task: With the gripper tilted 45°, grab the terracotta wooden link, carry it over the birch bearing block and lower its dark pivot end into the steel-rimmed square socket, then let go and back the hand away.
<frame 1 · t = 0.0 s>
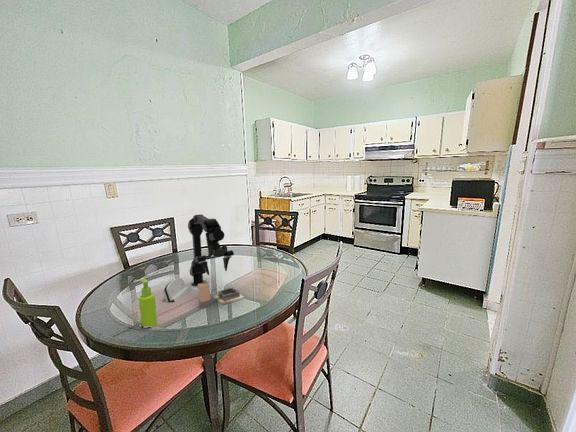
hand: (217, 273, 127), 15 cm above the table, tool pointing down, fingers open, 9 cm apart
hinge: (176, 296, 139), on the table
pivot link: (205, 305, 125), on the table
soap dispenser: (148, 325, 109), on the table
bearing block: (229, 298, 133), on the table
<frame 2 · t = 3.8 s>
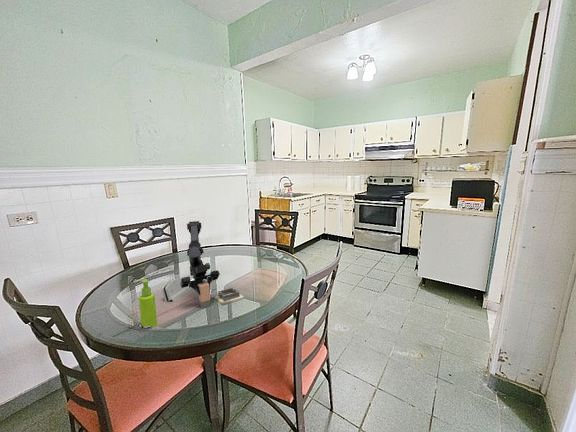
hand: (204, 293, 124), 7 cm above the table, tool tilted 45°, fingers closed on pivot link, 4 cm apart
pivot link: (205, 305, 125), on the table, touching gripper
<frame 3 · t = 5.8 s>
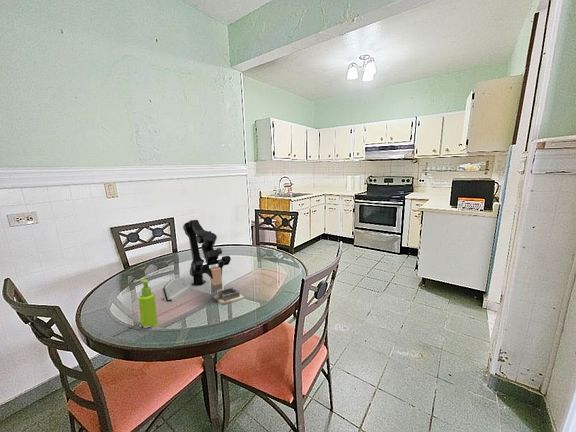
hand: (216, 277, 127), 13 cm above the table, tool tilted 45°, fingers closed on pivot link, 4 cm apart
pivot link: (216, 288, 129), point 7 cm above the table, touching gripper
when the fingers open (8 cm above the table, at t = 8.0 s): pivot link stays where it is, resting on bearing block.
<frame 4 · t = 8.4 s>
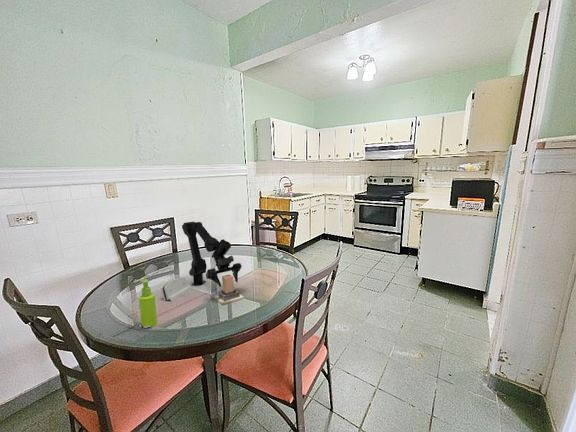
hand: (229, 284, 131), 8 cm above the table, tool tilted 45°, fingers open, 9 cm apart
pivot link: (228, 296, 133), point 1 cm above the table, touching bearing block
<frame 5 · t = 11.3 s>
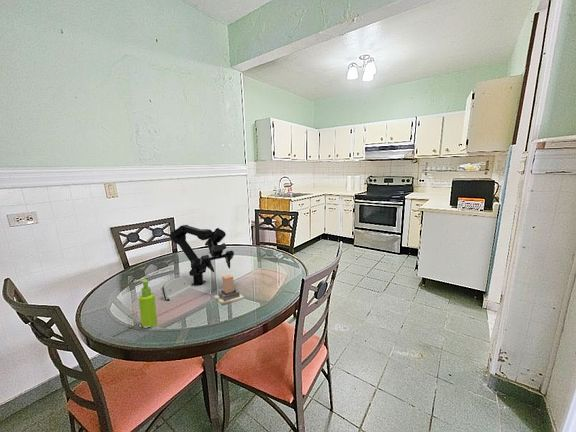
hand: (221, 270, 138), 14 cm above the table, tool tilted 45°, fingers open, 9 cm apart
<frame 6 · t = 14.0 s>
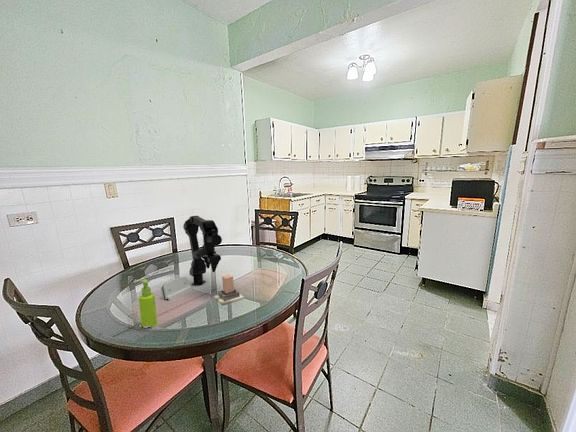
hand: (210, 270, 140), 13 cm above the table, tool pointing down, fingers open, 9 cm apart
at the end: pivot link 0.0 cm off-centre on the bearing block, point 1.0 cm above the bearing block's base; pivot link tilted 0°; the gripper is holding nothing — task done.
